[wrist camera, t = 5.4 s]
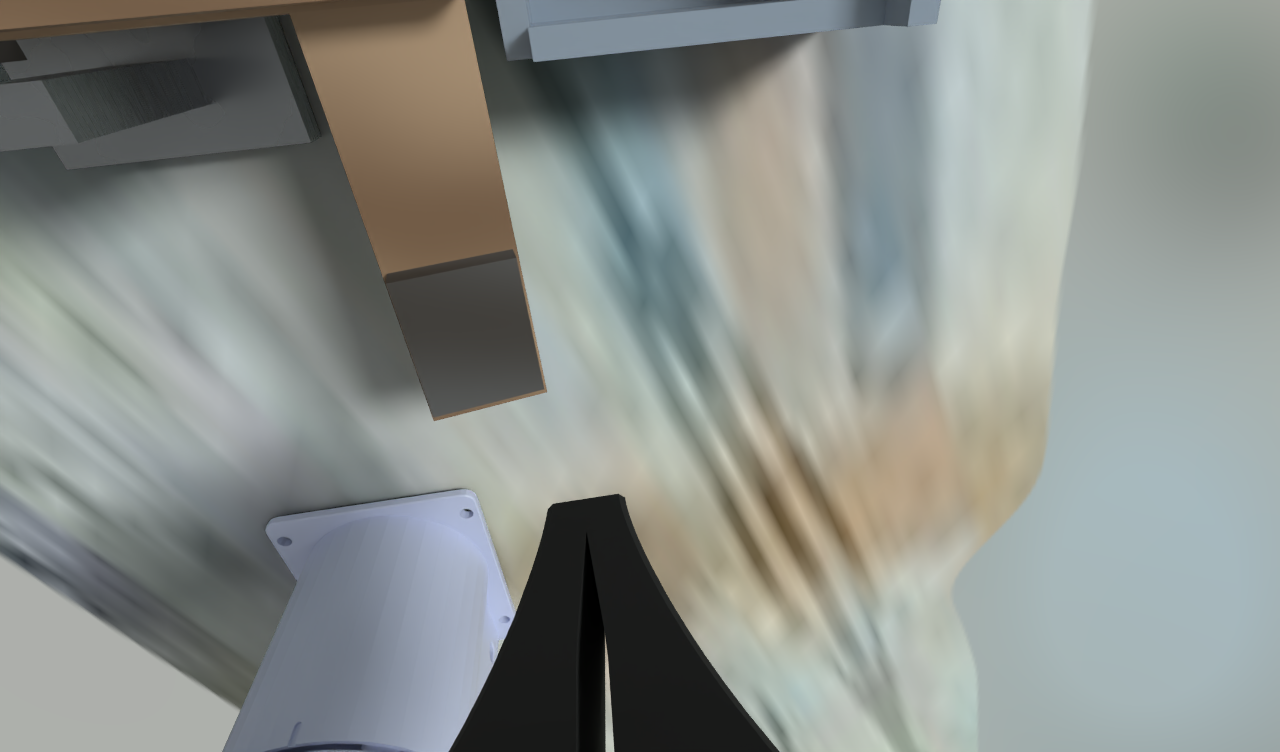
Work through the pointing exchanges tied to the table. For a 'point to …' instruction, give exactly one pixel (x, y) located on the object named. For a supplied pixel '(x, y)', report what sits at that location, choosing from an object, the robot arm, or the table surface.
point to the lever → (389, 169)
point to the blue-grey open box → (683, 22)
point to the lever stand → (156, 93)
